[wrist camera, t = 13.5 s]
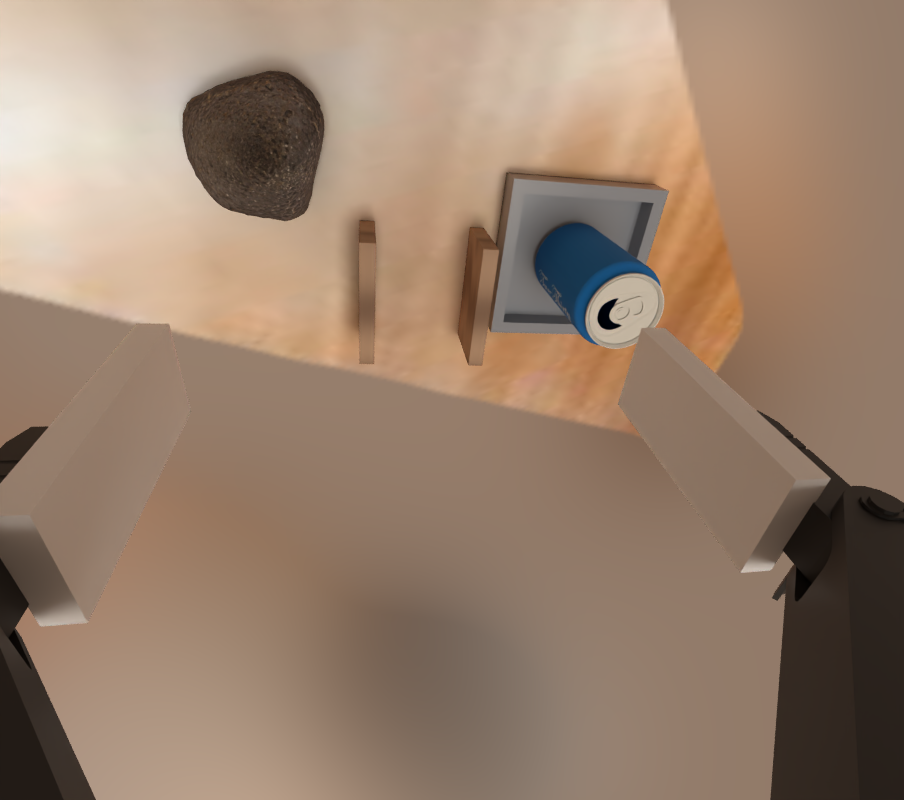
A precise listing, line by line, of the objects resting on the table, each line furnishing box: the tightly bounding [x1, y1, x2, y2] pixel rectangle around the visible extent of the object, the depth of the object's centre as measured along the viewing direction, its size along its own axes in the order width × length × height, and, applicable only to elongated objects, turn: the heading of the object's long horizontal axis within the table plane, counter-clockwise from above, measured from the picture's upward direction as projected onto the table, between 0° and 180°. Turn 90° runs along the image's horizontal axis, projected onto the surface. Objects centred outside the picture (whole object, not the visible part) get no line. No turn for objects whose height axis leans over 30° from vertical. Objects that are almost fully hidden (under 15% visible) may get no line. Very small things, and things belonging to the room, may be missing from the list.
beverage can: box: [535, 223, 664, 349], centre depth 40 cm, size 6×6×12 cm
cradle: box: [359, 221, 499, 366], centre depth 43 cm, size 10×10×6 cm
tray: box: [488, 173, 669, 334], centre depth 45 cm, size 13×13×2 cm
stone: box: [183, 71, 324, 221], centre depth 36 cm, size 10×8×10 cm
